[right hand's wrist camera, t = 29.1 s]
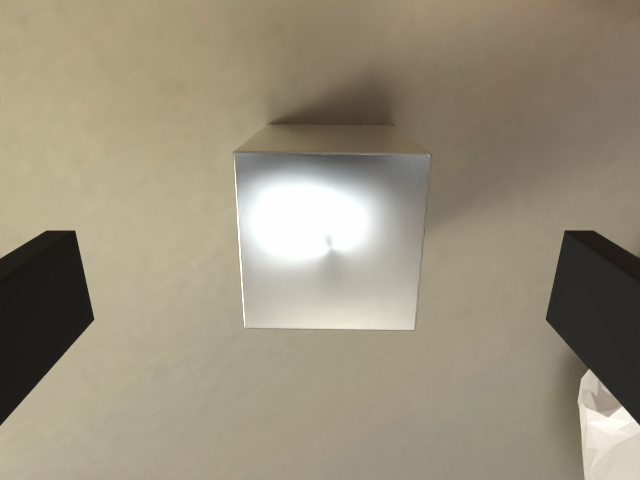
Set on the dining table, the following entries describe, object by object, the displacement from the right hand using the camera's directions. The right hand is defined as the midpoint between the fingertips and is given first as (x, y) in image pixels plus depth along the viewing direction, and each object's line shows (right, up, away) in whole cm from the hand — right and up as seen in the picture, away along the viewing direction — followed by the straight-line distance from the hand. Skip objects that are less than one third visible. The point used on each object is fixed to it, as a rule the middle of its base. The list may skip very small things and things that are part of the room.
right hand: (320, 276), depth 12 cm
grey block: (0, +4, +11) cm, 12 cm away
